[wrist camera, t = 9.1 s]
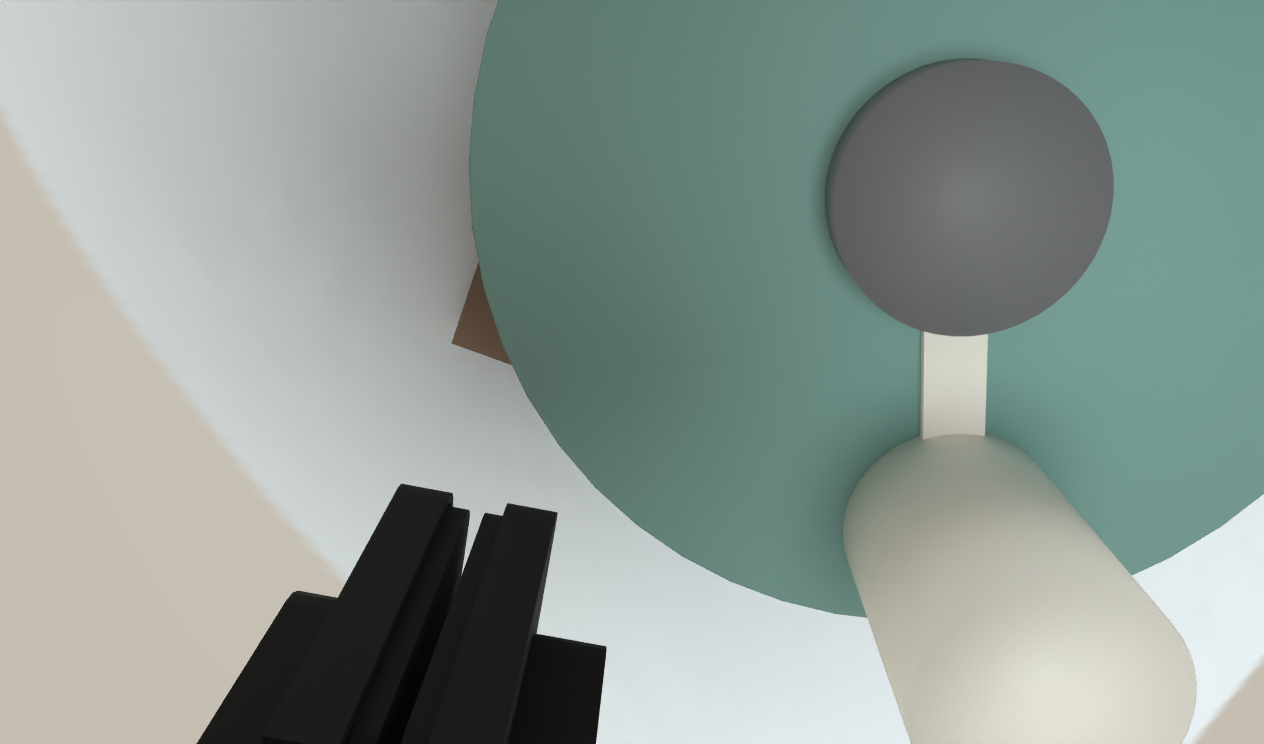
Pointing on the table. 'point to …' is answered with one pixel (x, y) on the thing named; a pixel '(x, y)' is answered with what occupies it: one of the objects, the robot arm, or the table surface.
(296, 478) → the table surface
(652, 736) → the table surface
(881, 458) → the handwheel
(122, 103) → the table surface
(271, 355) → the table surface
